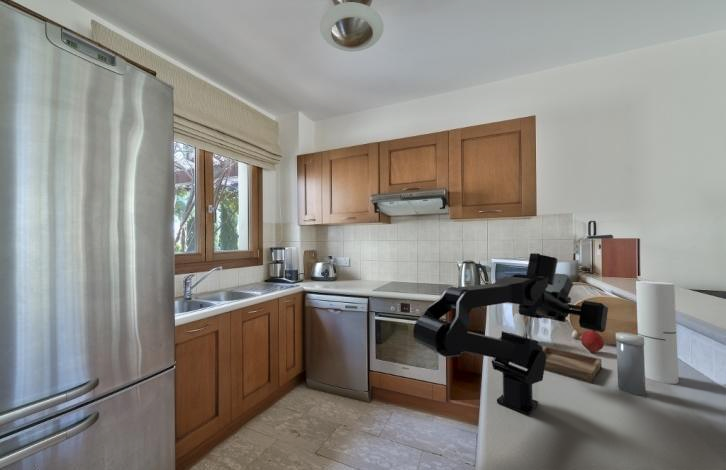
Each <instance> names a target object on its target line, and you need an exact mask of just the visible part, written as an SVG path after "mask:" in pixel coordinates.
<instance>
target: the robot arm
mask: <svg viewBox="0 0 726 470" xmlns="http://www.w3.org/2000/svg"><path fill="white" fill-rule="evenodd" d="M557 266H558V258H556V257H554V256H553V257H552V256H550V255H545V254H544V255H543V254H541V253H536V252H535V253H534V252H533V253H530V254H529V259H528V265H527V267H526V269H527V270H526V273H525V274H521V273H514V274H512V275H510V276H509V275H508V276H503V277H500V278H499V279H496V280H495V282H493V283H488V284H487V283H486V284H477V285H469V286H460V287H459V286H458V287H457V286H456V287H455V286H449V287H447V288H446V289H445V290H443V293H442V294H441V296H440V297H438V299H436V300H435V301H434V302H432V303H431V304H429V305H428V306H427V307H426V308H425V309H424V310H423V312H422V313H421V315H420V317H419V318H418V319H417V320H416V322H415V323H414V326H413V329H412V330H413V332H412V334H413V338H414V341H415V343H416V344H417V345H420V346H421V347H424V348H426V349H428V350H430V351H432V352H434V353H436V354H437V355H438V354H439V356H442V357H445V358H450V357H451V358H453V357H460V356H462V354H463V353H469V354H472V355H473V354H474V355H478V356H484V357H489V358H492V359H491V364H492V368H493V370H494V371H498V372H500V373H502V394H501V395H500V396H499V397H498V398H496V403H497V404H500V405H503V406H504V407H507V408H510V409H512V410H514V411H517V412H520V413H522V414H525V415H527V416H530V415H531V414H532V413H533V411H534V410H535V409H536V408H537V407H538V406H539V401H538V400H536V399H533V396H534V395H533V385H534V384H537V383H539V382H542V381H543V379H544V375H545V374H544V373H545V370H544V369H545V363H546V355H545V353H544V352H543V347H544V346H542V345H540V344H539V340H536V339H534V338H533V339H529V338H526V337H523V336H519V335H516V334H515V333H513V332H512V333H511V332H507V331H504V330H501V334H500V336H499V338H497V337H494V336H490V335H489V336H488V335H484V334H481V333H477V332H473V331H469V328H470V314H471V312H472V310H473V309H477V308H483V307H488V306H495V305H496V306H497V305H500V304H513V303H514V304H519V310H518V311H519V314H520V315H524V316H529V317H533V318H534V319H548V320H553V321H558V322H561V323H566V318H567V317H568V316H569V315H573V316H578V317H579V318H578V319H579V320H578V324H579V327H580V328H582V329H583V330H584V329H585V330H587V331H589V330H592V331H595V332H597V333H604V332H605V331H606V327H607V319H608V314H609V313H608V312H609V308H608V307H607V305H605V304H604V303H602V302H597V301H590V300H583V301H582V303H581V305H576V304H572V303H571V301H572V297H570V296H569V295H570V294H571V293H570V292H571V290H572V287H573V286H574V283H573V282H572V280H571V278H570V277H569V276H568V275H567V274H564V273H556V271H557ZM453 309H456V310H455V316H454V317H455V318H454V319H453V321H452V322H450V321H446V320H443V319H441V318H442V317H443V316H445V315H446V314H447V313H449V312H450V311H451V310H453ZM510 363H511V364H510ZM515 365H516V366H515ZM518 366H519V367H518ZM520 367H521V368H520ZM525 369H526V370H525Z"/></svg>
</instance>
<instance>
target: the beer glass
mask: <svg viewBox="0 0 726 470" xmlns="http://www.w3.org/2000/svg"><path fill="white" fill-rule="evenodd" d="M511 304H512V307H511V308H512V310H511V313H512V314H511V315H512V319H513V323H514V324H513V325H514V334H516V335H519V336H523V337H526V338H529V339H533V340H534V338H533V335H532V334H533V332H532V331H533V326H534V320H535V318H533V317H529V316H524V315H520V314H519V311H518V310H519V304H514V303H511Z"/></svg>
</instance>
